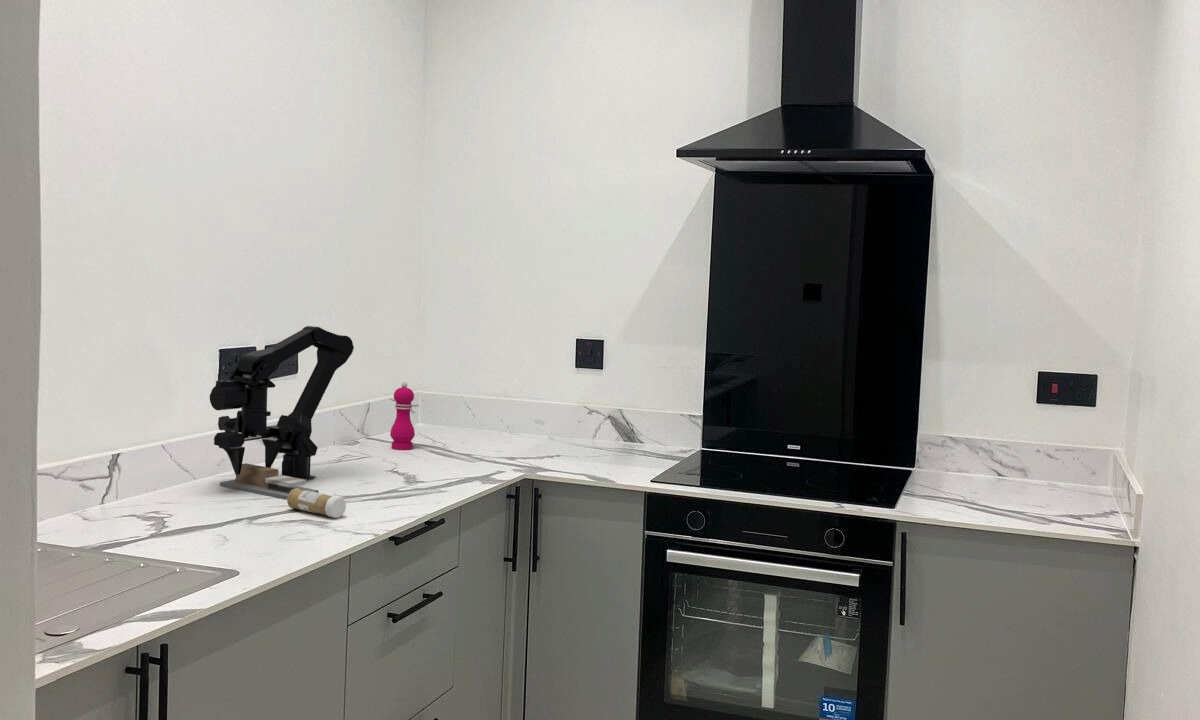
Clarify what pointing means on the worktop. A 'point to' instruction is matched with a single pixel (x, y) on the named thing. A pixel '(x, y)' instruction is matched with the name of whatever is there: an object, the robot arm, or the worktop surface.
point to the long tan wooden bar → (266, 477)
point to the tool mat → (264, 489)
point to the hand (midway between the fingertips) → (252, 471)
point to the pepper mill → (403, 419)
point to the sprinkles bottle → (316, 503)
